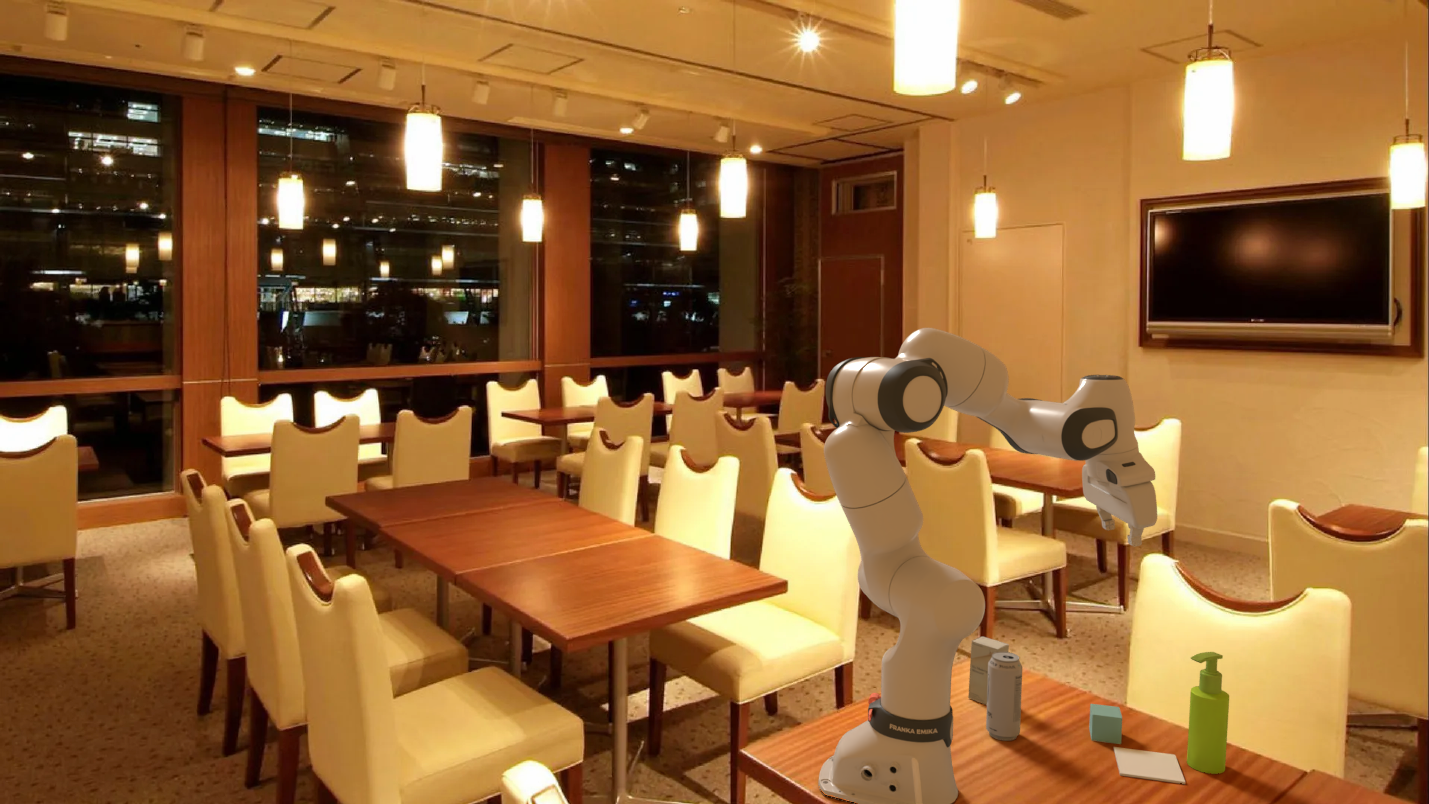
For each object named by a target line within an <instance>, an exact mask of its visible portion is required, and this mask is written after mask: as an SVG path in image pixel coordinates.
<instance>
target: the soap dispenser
mask: <svg viewBox="0 0 1429 804" xmlns="http://www.w3.org/2000/svg"><path fill="white" fill-rule="evenodd" d="M1223 656H1224V655H1222V654H1220V653H1217V652H1215V651H1206V652H1200V653H1197V654H1194V655H1192V656H1191V657H1190V659H1191V661H1194V662H1196V663H1199V664H1202V663H1205V668H1202V669H1201V670H1200V671H1199V681H1198V682H1199V685H1196V686H1193V687H1191V688H1190V697H1189V715H1188V716H1189V717H1188V729H1187V730H1188V732H1187V733H1188V735H1187V751H1186V755H1187V756H1186V764H1187V766H1189V767H1190V768H1192V769H1194V770H1196V771H1198V772H1200V773H1204V772H1205V774H1210V773H1211V775H1212V774H1213V775H1215V774H1217V775H1218V773H1219V774H1223V773H1224V772H1225V771H1226V760H1227V743H1228V742H1227V741H1228V727H1229V725H1228V724H1229V710H1230V709H1229V707H1230V695H1229V693H1228V692H1226V691H1224V690H1223V689H1222V687H1223V686H1222V683H1223V674H1222V672H1220V671H1218V660H1222V659H1223Z"/></svg>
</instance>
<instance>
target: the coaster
mask: <svg viewBox="0 0 1429 804" xmlns="http://www.w3.org/2000/svg"><path fill="white" fill-rule="evenodd" d="M1113 752H1114V756H1115V760H1116V765H1117V768H1118V774H1119V776H1122V777H1123V776H1124V777H1129V778H1137V779H1144V780H1151V781H1152V780H1153V781H1158V782H1166V783H1174V784H1180V783H1182V785H1186V780H1185V777H1184V775H1183V771H1182V770H1181V767H1180V764H1179V761H1178V758H1177V756H1176V754H1173V753H1164V752H1156V751H1148V750H1141V749H1135V748H1133V749H1132V748H1127V747H1125V748H1124V747H1117V746H1113Z"/></svg>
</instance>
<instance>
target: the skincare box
mask: <svg viewBox="0 0 1429 804" xmlns="http://www.w3.org/2000/svg"><path fill="white" fill-rule="evenodd" d="M1009 646H1010V644H1009V643H1006V642H1003V641H999V640H997V639H993V638H989V637H986V636H984V635H983V636H982V635H981V636H979V637H976V638H974V639H973V640H971V646H970V647H971V648H970V665H969V678H968V679H969V681H968V682H969V683H968V696H967V697H968V699H970V700H972V701H975V702H978V703H980V704H983V705H985V706H987V685H988V662H989V661H990V659H991V658H992V654H993V653H995V652H1009Z"/></svg>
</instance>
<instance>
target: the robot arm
mask: <svg viewBox="0 0 1429 804" xmlns="http://www.w3.org/2000/svg"><path fill="white" fill-rule="evenodd" d="M1009 378H1010V377H1009V372H1008V368H1007V366H1006V364H1005V363H1004V362H1003V361H1002V360H1001V359H1000V358H998V357H997V356H996V355H995V354H994V353H992V352H991V351H990V350H987V349H986V348H984V347H982V346H981V345H978V344H977V343H974V341H971V340H970V339H967V338H964V337H962V336H960V335H957V334H954V333H952V332H948V331H945V330H943V329H942V330H941V329H937V328H934V327H922V328H919V329H917V330H914V331H913V332H912V333H911V334H909V335H908V336H907V337H906V338H905V340H904V341H903V343H902V344H901V346H900V348H899V351H898V355H897V356H896V357H895V358H890V357H883V356H881V357H879V356H870V357H863V356H855V357H851V358H848V359H845V360H842V361H841V362H838V364H836V365H835V366H834V367H833V368H832V370H830V372H829V373H828V375H827V379H826V383H825V399H826V404H827V407H828V419H829V421H830V423H831V424H832V425H833V427H834V428H835V429H834V430H833V431H832V432H831V433H830V434H829V435H828V437H827V438H826V440H825V443H824V446H823V455H824V460H825V464H826V469H827V472H828V476H829V478H830V483H831V484H832V487H833V490H834V492H835V495H836V497H837V500H838V502H839V504H840V506H841V508H842V511H843V512H844V515H845V518H846V519H847V521H848V522H847V523H848V524H849V526H850V528H851V530H852V533H853V535H854V537H855V539H856V542H857V545H858V549H859V554H860V559H861V560H860V563H859V565H858V569H857V581H858V585H859V587H860V589H861V591H862V592H863V594H864V595H866V597H867V598H868V599H869V600H870V601H871V602H872V603H873V604H874V605H875V606H876V607H878V608H879V609H881V610H882V611H884V612H887V613H888V614H890V615H892V616H894V617H895V618H898V620H899V624H900V628H899V629H900V630H899V634H898V638H897V642H896V644H894V645H893V646H891V647H890V648H888V649H886V652H884V654H883V656H882V659H881V676H880V677H881V683H880V684H881V685H880V688H881V689H880V693H878V692H873V693H871V694H870V695H869V698H868V701H867V703H868V709H867V720H866V721H864V722H862V723H861V724H859V725H857V726H856V727H854V728H851V729H850V730H848V731H846V732H845V733H844V734H843V735H842V737H841V738H840V740H839V741H838V743H837V745H836V747H835V751H834V753H833V755H832V756H830V757H829V758H828V759H827V760H825V761H824V762H823V764H822V766H821V767H820V771H819V775H818V787H819V786H820V788H819V790H820V789H821V790H822V791H823V792H824V793H825V794H827V795H833V796H835V797H838V798H843V799H846V800H849V801H852V802H856V803H858V804H953V803H954V802H955V801H956V799H957V798H958V795H959V789H958V787H957V782H956V779H955V775H954V774H955V773H954V765H953V760H952V750H951V747H952V746H951V745H952V742H953V738H954V737H953V736H954V716H953V715H954V714H953V707H952V706H951V691H952V673H953V665H954V660H955V656H956V654H957V651H958V649H959V646H960V644H961V643H962V641H963V640H964V639H966V638H968V637H969V636H971V635H972V634H973V633H974V632H975V631H976V630H977V629H978V628H979V626H980V625H981V623H982V621H983V618H984V616H985V612H986V611H985V609H986V601H985V596H984V592H983V591H982V589H981V588H980V586H979V585H978V584H977V583H976V582H975V581H974V580H973V579H971V578H970V577H969V576H967V574H965V573H964V572H963V571H961V570H960V569H958V568H956V567H954V566H951V565H949V564H946V563H945V562H941V561H939V560H936V559H934V558H933V557H930V555H929V554H927V552H926V551H925V550H924V548H923V547H922V545H921V543H920V537H919V532H921V529H922V528H923V525H924V514H923V511H922V509H921V507H920V505H919V502H918V501H917V498H916V496H915V493H914V491H913V489H912V486H911V485H910V482H909V479H908V477H907V475H906V473H905V471H904V469H903V466H902V463H900V461H899V458H898V456H897V454H896V450H895V439H894V438H895V431H896V432H898V433H902V434H903V433H904V434H905V433H906V434H907V433H908V434H909V433H910V434H911V433H916V432H920V431H924V430H926V429H928V428H930V427H931V426H932V425H934V424H935V422H936V421H937V420H938V418H939V417H940V416H941V413H942V411H943V409H944V407H946V408H948V409H951V410H953V411H955V412H958V413H960V414H964V415H967V416H970V417H971V416H972V417H976V419H979V420H981V421H983V422H985V423H986V424H987V425H989V426H991V427H993V428H995V429H996V430H998V432H999V433H1000V434H1001V435H1002V436H1003V438H1004V439H1005V441H1007V443H1008V444H1009V445H1010V446H1011V447H1012V449H1014V450H1016V451H1017V452H1019V453H1021V454H1027V455H1040V456H1046V457H1052V458H1056V459H1063V460H1068V461H1075V462H1079V461H1085V462H1084V463H1085V464H1084V465H1083V466H1082V468H1081V480H1082V481H1081V483H1082V493H1083V496H1084V498H1085V500H1086V501H1088V502H1090V503H1091V504H1093V505H1094V506H1095V507H1096V512H1097V514H1098V515H1099V518H1100V521H1101V527H1102V528H1103V529H1104V530H1105V531H1108V532H1109V531H1112V530H1113V531H1114V530H1115V529H1116V525H1115V524H1116V523H1115V519H1113V516H1114V517H1115V518H1117V519H1119V520H1121V521H1123V522H1124V523H1126V524H1127V527H1128V528H1129V534H1126V537H1127V543H1128V544H1129V545H1130V546H1132V547H1134V548H1135V547H1140V546H1141V545H1142V544H1143V540H1142V535H1143V532H1144V530H1145V528H1146V529H1147V528H1150V527H1153V526H1155V525H1156V523H1157V520H1158V506H1157V494H1156V490H1155V489H1156V488H1155V486H1154V484H1153V482H1152V481H1155V480H1156V471H1155V469H1154V468H1153V466H1151V465H1150V463H1149V462H1148V461H1147V460H1146V459H1145V458H1144V456H1143V455H1142V453H1141V452H1140V450H1139V442H1138V439H1137V438H1136V435H1135V426H1136V414H1135V407H1134V402H1133V401H1134V400H1133V397H1132V393H1131V392H1132V391H1131V389H1130V386H1129V384H1128V382H1127V380H1126V379H1125V378H1123V377H1121V376H1119V375H1114V374H1112V375H1111V374H1090V375H1089V374H1088V375H1084V376H1082V377H1081V378H1080V379H1079V385H1078V387H1077V389H1076V390H1075V392H1074V393H1073V394H1072V395H1071V396H1070V397H1069V398H1068V399H1067V400H1064V402H1055V401H1048V400H1042V399H1037V398H1031V397H1023V398H1016V397H1015V396H1013V395H1011V394H1009V393H1008V388H1009V380H1010V379H1009ZM833 419H834V420H833ZM821 790H820V791H821Z"/></svg>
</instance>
